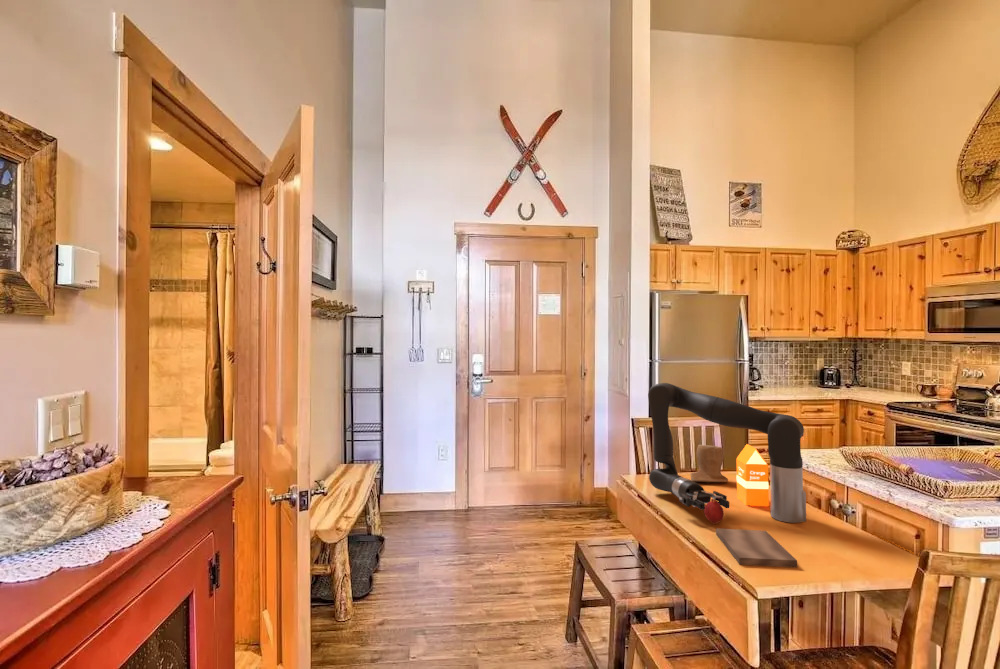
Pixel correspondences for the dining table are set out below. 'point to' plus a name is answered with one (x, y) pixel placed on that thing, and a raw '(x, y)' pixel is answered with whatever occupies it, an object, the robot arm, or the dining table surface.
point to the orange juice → (752, 478)
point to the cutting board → (755, 548)
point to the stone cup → (709, 464)
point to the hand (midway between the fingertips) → (716, 505)
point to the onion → (714, 511)
